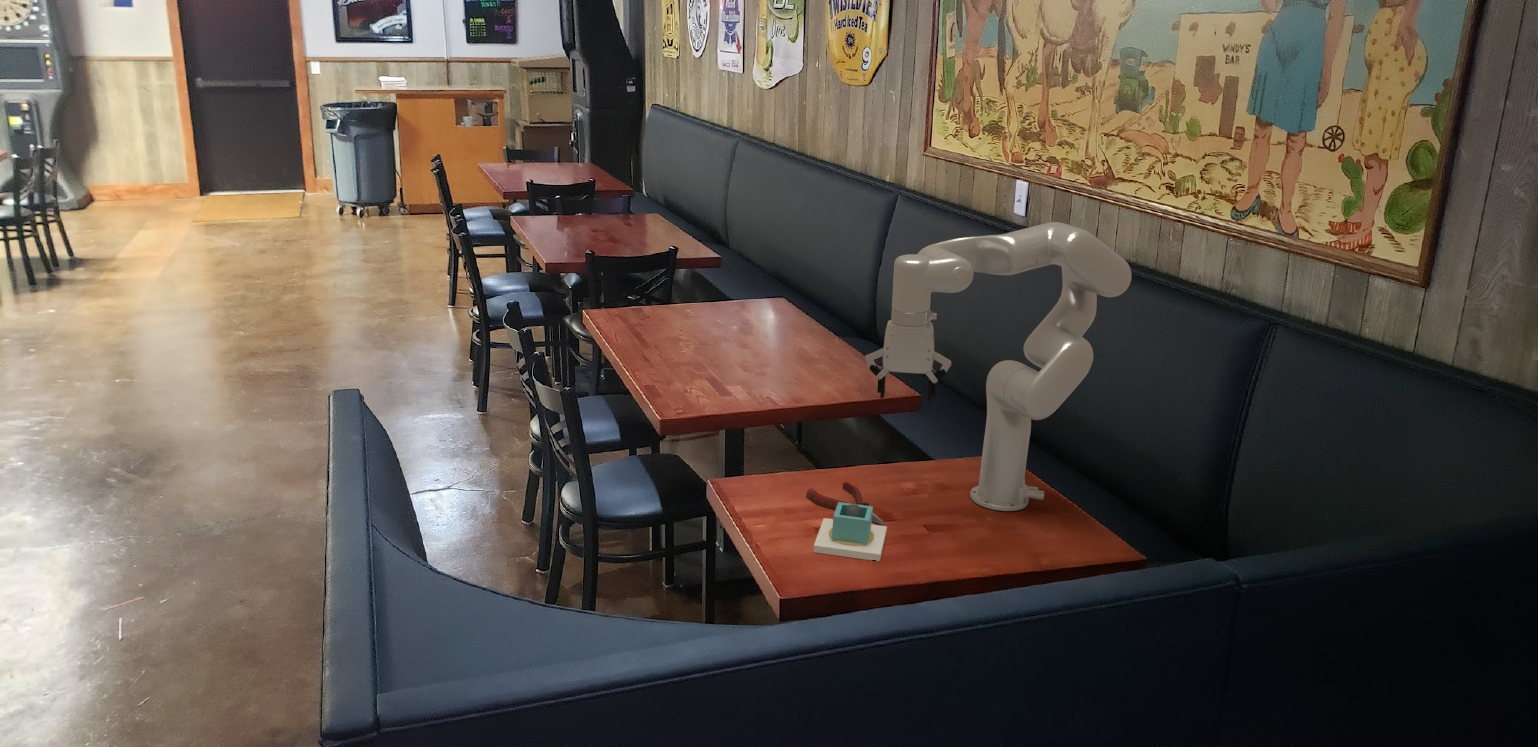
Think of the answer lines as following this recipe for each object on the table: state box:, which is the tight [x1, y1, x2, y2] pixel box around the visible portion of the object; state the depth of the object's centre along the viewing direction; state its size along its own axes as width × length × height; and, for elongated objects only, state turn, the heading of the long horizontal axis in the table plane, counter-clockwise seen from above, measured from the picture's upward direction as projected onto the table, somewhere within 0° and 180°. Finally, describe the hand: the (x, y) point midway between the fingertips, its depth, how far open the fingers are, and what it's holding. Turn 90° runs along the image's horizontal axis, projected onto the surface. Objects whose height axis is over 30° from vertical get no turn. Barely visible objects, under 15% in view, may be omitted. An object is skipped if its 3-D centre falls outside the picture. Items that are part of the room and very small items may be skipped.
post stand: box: [812, 503, 888, 562], centre depth 225 cm, size 13×13×8 cm
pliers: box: [806, 481, 886, 526], centre depth 241 cm, size 12×20×3 cm, turn 30°
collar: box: [832, 502, 874, 544], centre depth 225 cm, size 7×7×5 cm
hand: (906, 397), depth 232 cm, fingers open, 9 cm apart
